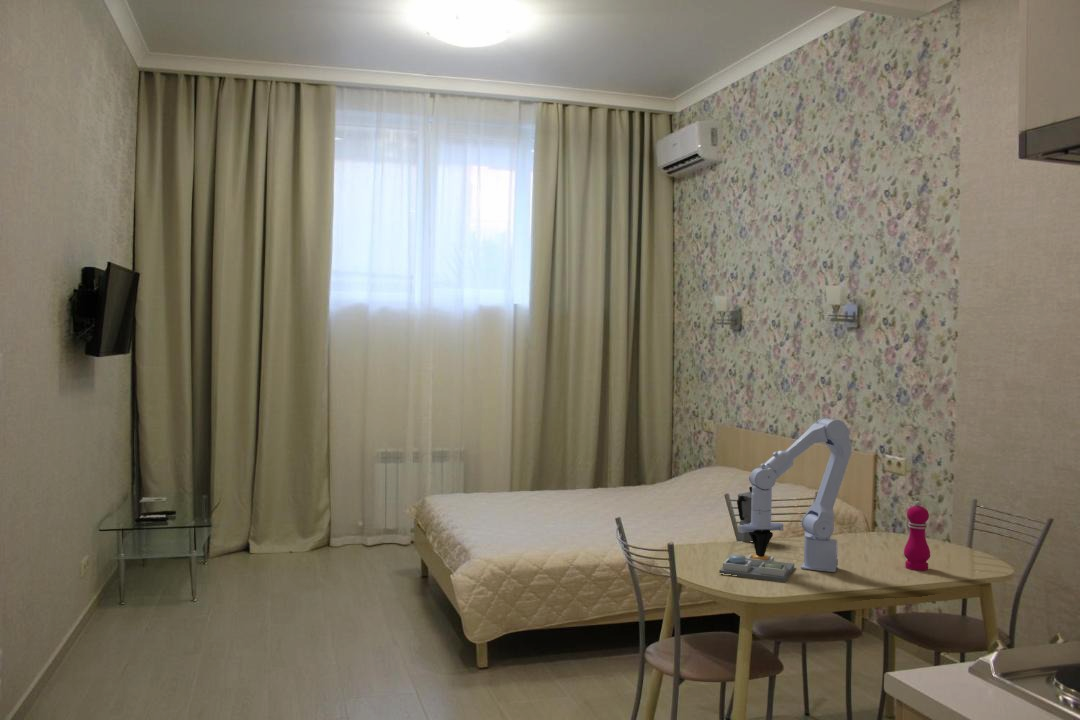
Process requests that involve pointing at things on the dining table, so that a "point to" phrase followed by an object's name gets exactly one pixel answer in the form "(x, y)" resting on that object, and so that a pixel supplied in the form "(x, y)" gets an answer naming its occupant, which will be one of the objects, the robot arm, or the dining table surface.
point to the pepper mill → (917, 539)
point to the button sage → (773, 565)
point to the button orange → (760, 557)
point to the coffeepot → (744, 513)
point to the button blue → (737, 559)
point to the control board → (758, 569)
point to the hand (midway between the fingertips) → (760, 555)
